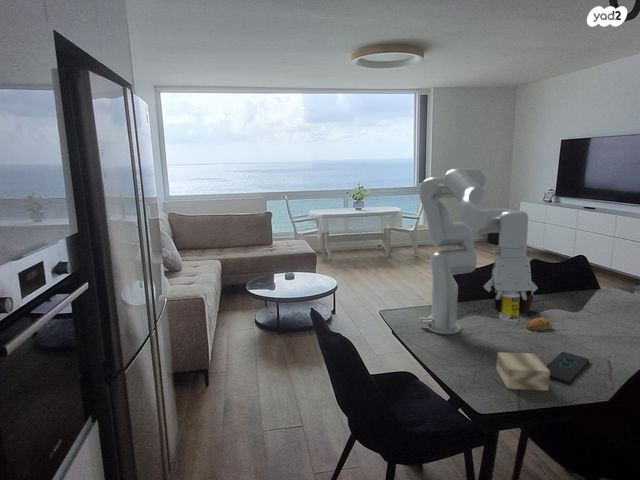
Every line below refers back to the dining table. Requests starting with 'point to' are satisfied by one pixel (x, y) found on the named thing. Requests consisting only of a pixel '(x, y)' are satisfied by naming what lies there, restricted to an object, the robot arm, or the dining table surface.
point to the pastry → (539, 324)
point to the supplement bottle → (510, 306)
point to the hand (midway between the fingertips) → (509, 310)
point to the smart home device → (566, 367)
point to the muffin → (527, 304)
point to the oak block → (523, 371)
